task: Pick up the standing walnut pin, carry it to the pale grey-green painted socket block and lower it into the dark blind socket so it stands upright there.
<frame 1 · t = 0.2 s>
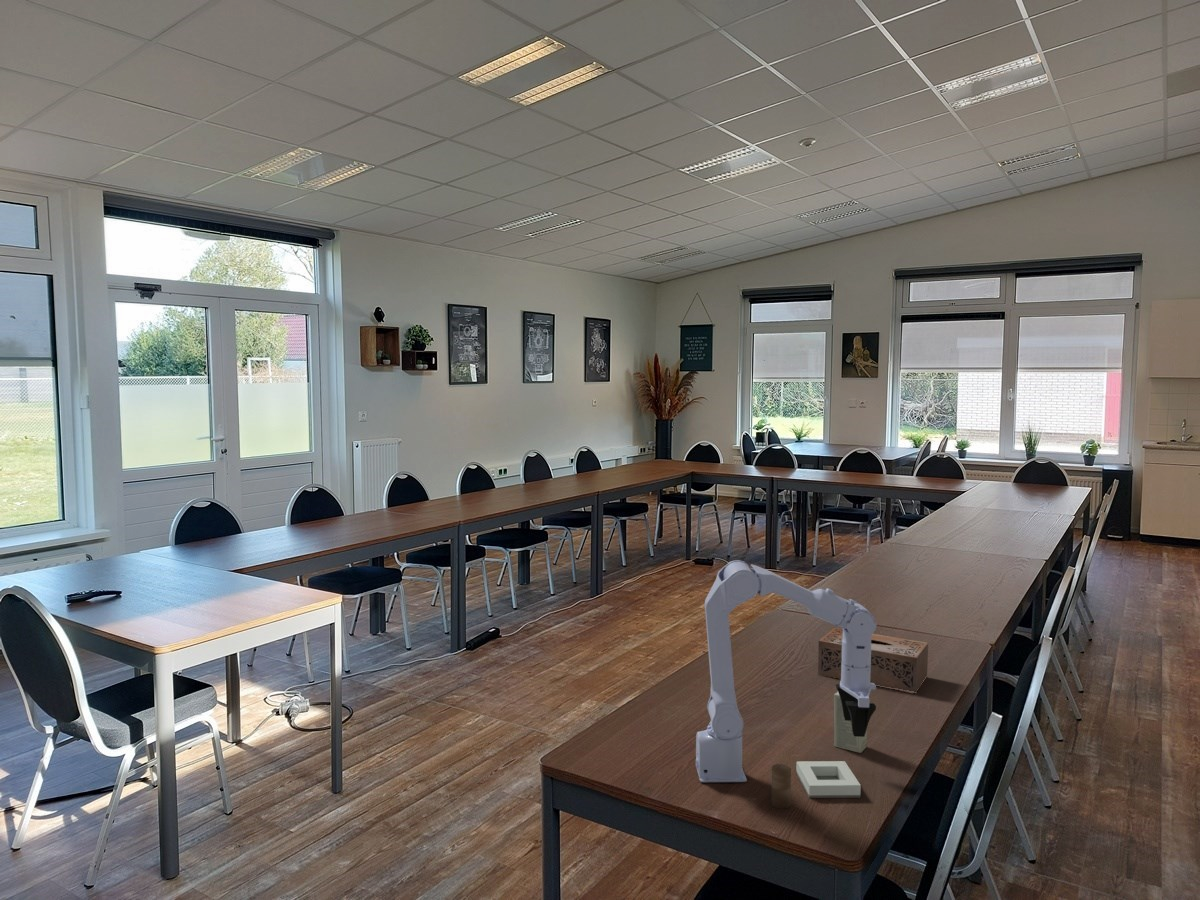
hand: (854, 727, 164), 10 cm above the table, fingers open, 7 cm apart
pin: (780, 803, 154), on the table
skincare box: (849, 747, 178), on the table
tissue box cover: (872, 677, 221), on the table
socket block: (827, 784, 161), on the table
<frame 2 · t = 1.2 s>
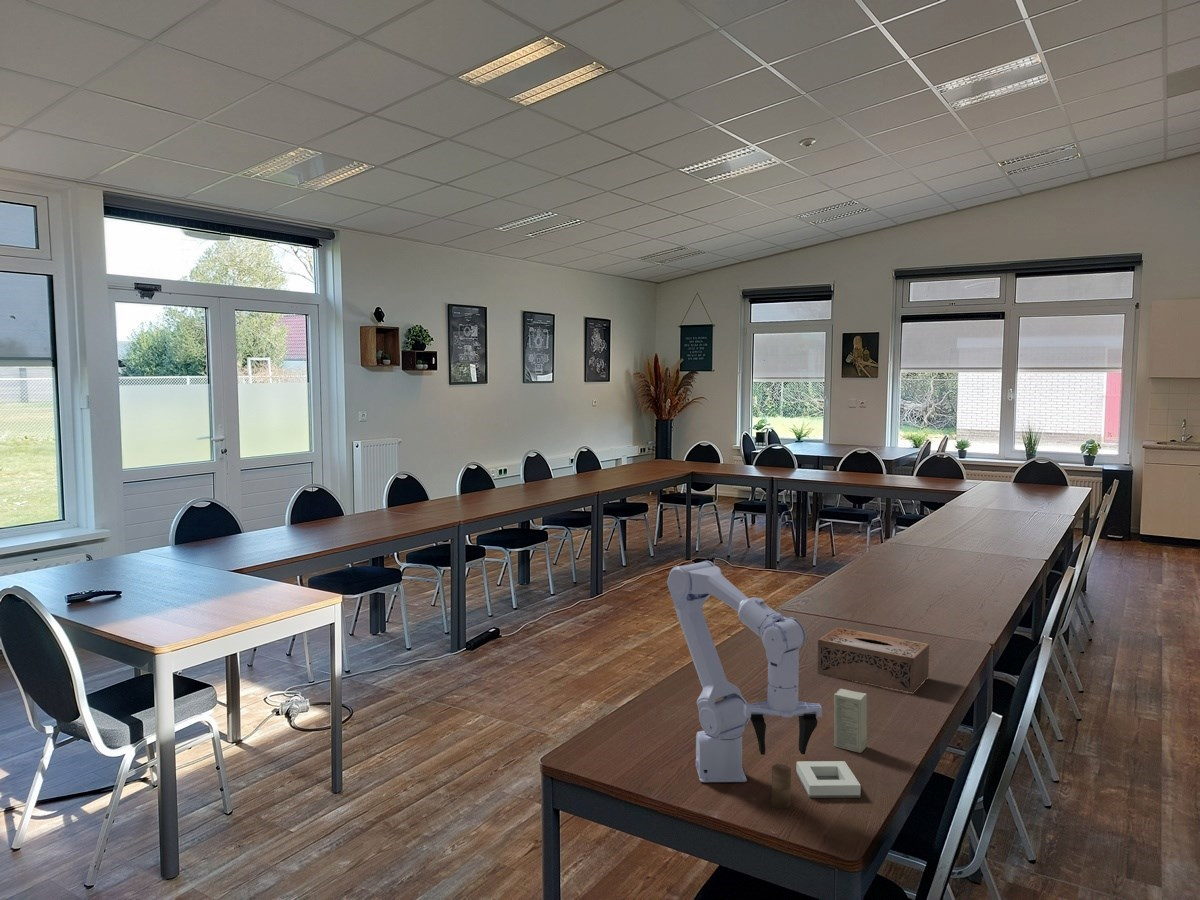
hand: (782, 752, 153), 10 cm above the table, fingers open, 7 cm apart
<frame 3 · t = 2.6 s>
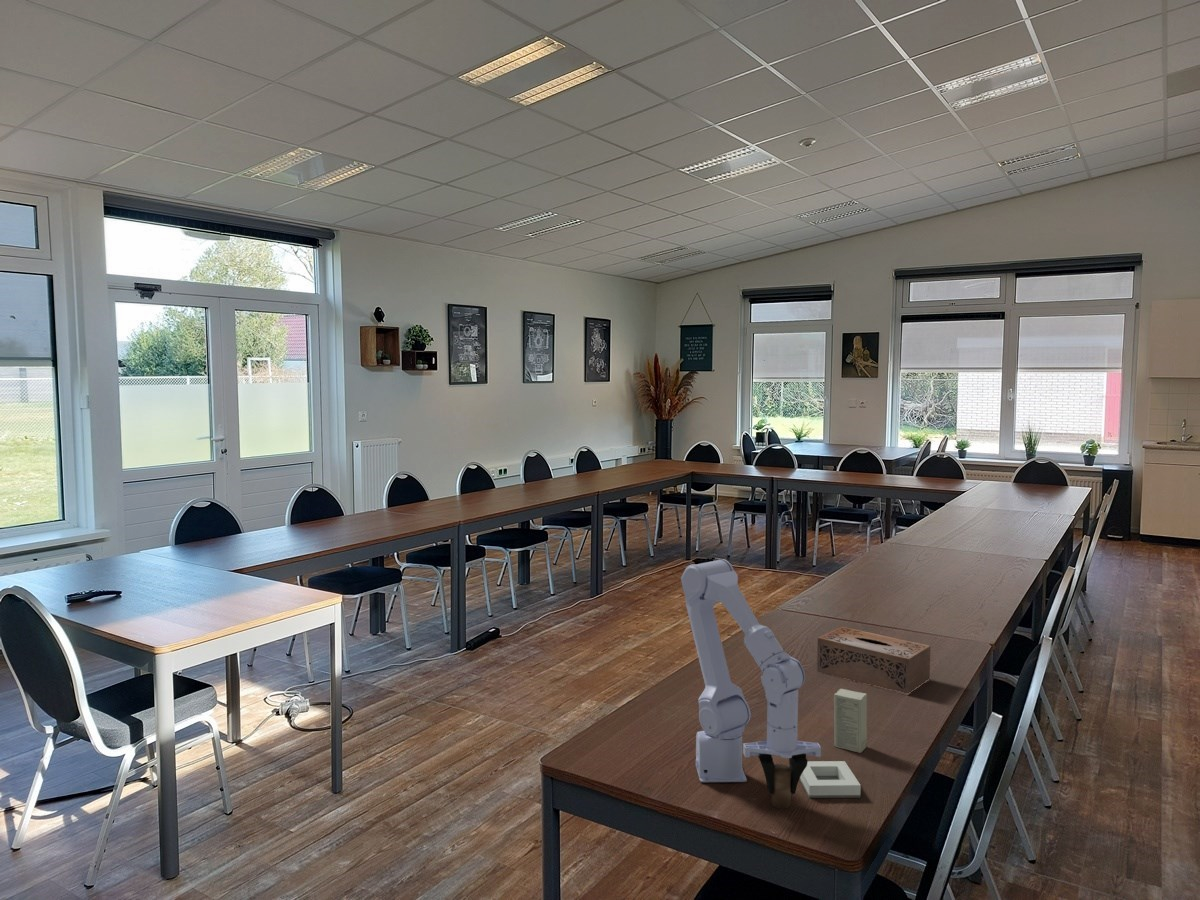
hand: (781, 791, 154), 2 cm above the table, fingers closed on pin, 4 cm apart
pin: (781, 803, 154), on the table, touching gripper
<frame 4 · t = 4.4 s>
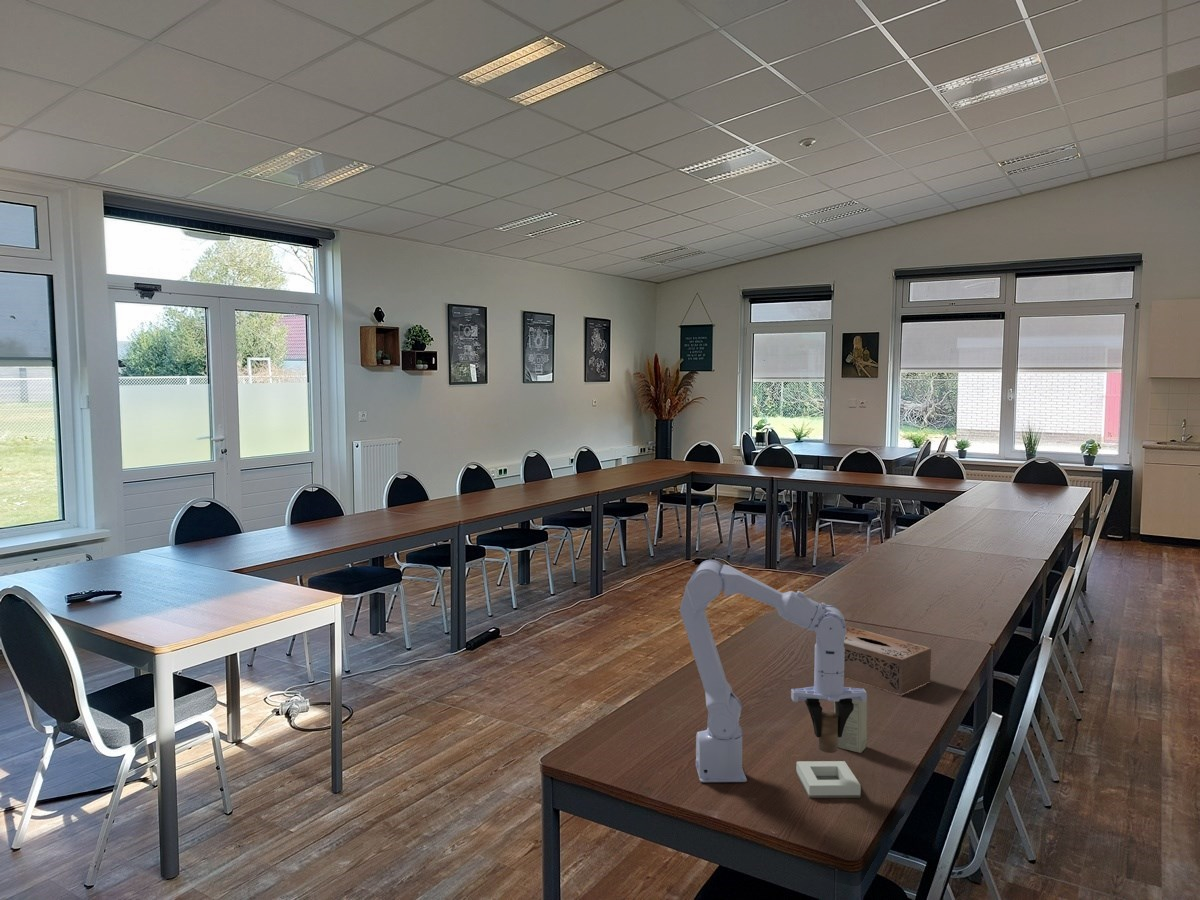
hand: (827, 735, 160), 10 cm above the table, fingers closed on pin, 4 cm apart
pin: (828, 748, 160), point 8 cm above the table, touching gripper
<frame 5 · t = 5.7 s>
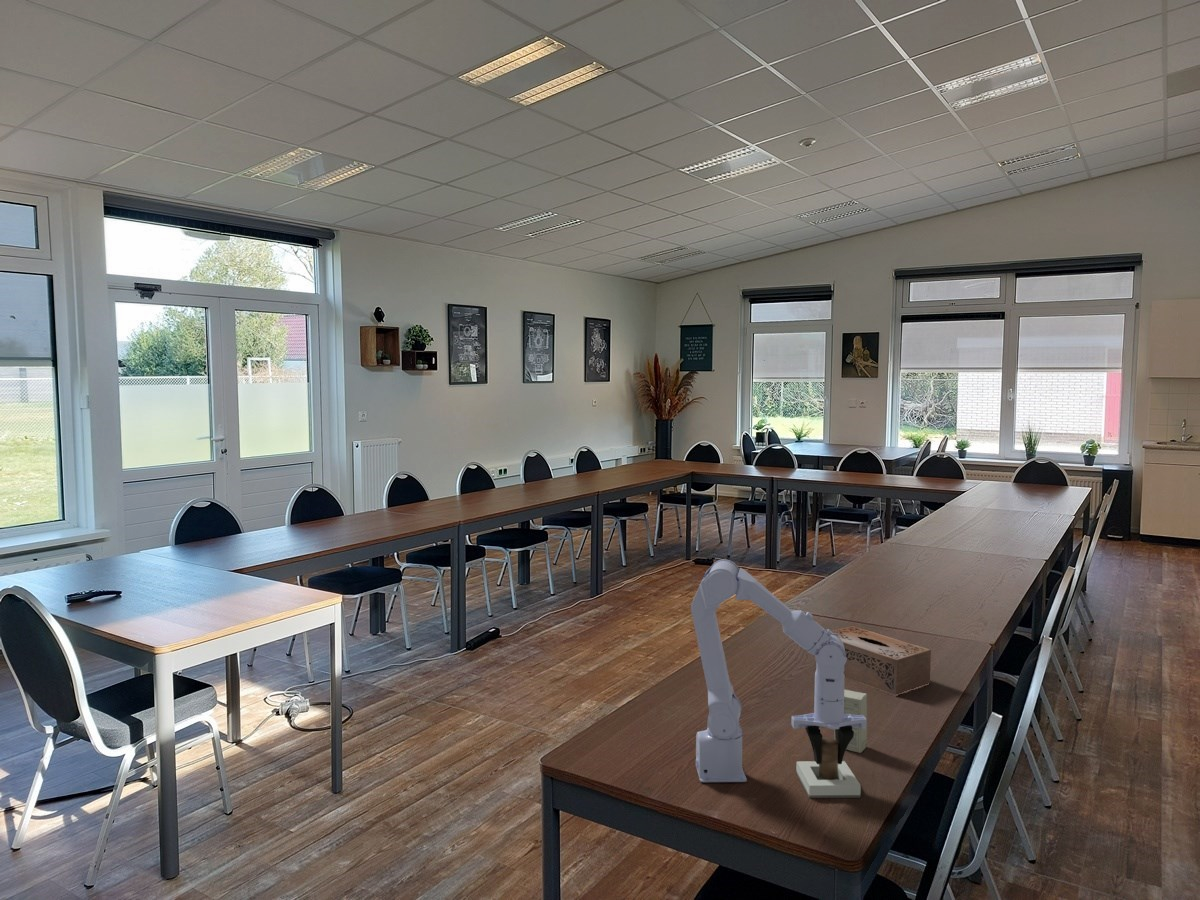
hand: (827, 761, 161), 5 cm above the table, fingers closed on pin, 4 cm apart
pin: (828, 775, 161), point 2 cm above the table, touching gripper
when the fingers open (4 cm above the table, at t = 6.4 s): pin stays where it is, resting on socket block.
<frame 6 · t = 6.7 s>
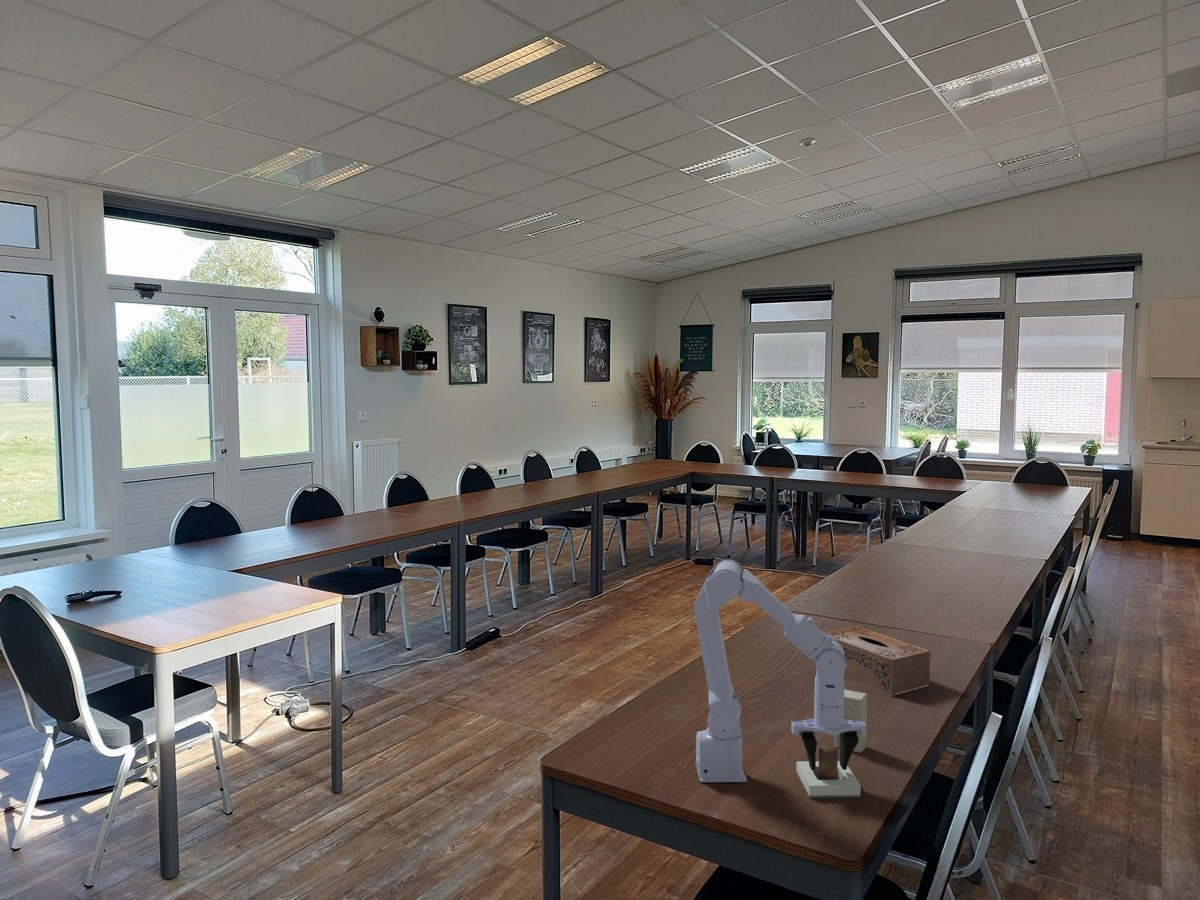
hand: (827, 767, 161), 4 cm above the table, fingers open, 6 cm apart
pin: (827, 783, 161), point 1 cm above the table, touching socket block
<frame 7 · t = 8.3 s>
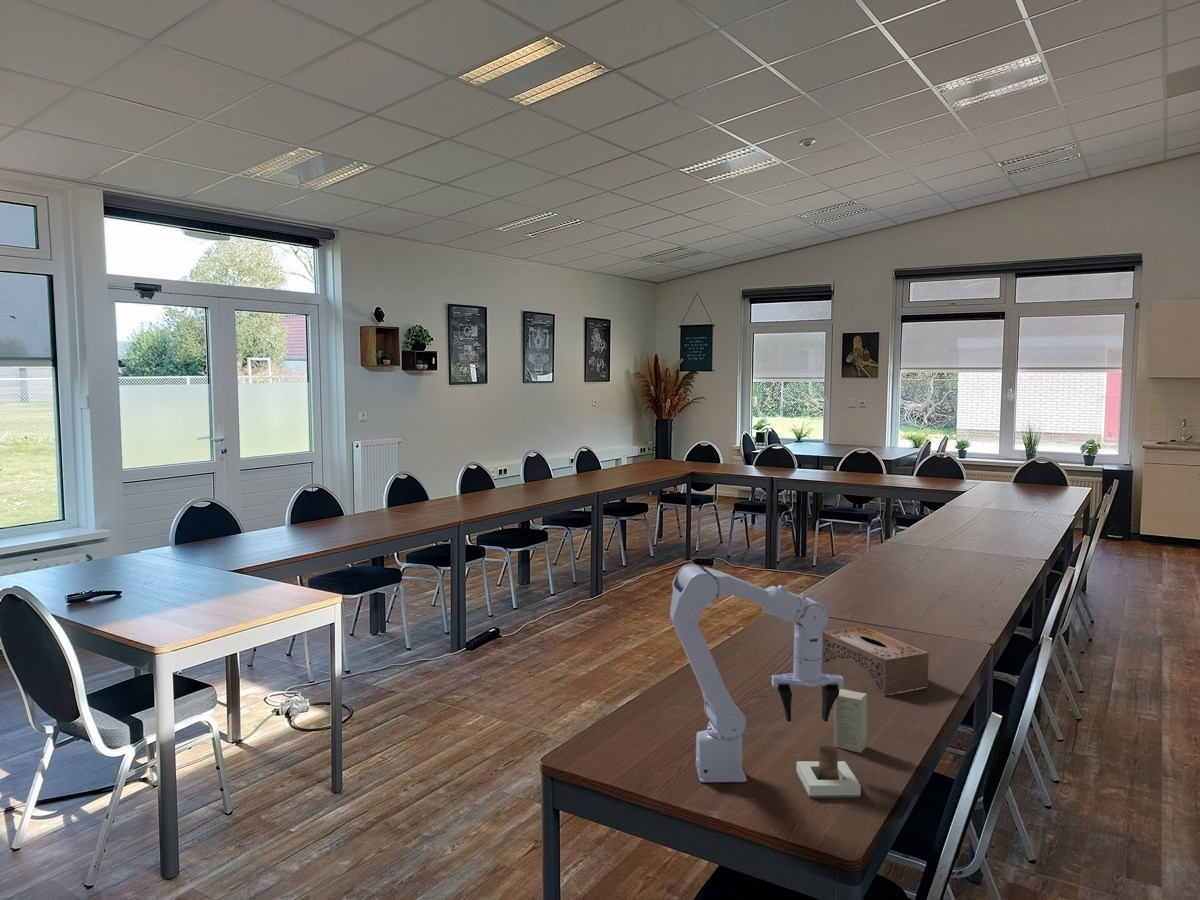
hand: (806, 719, 168), 10 cm above the table, fingers open, 7 cm apart
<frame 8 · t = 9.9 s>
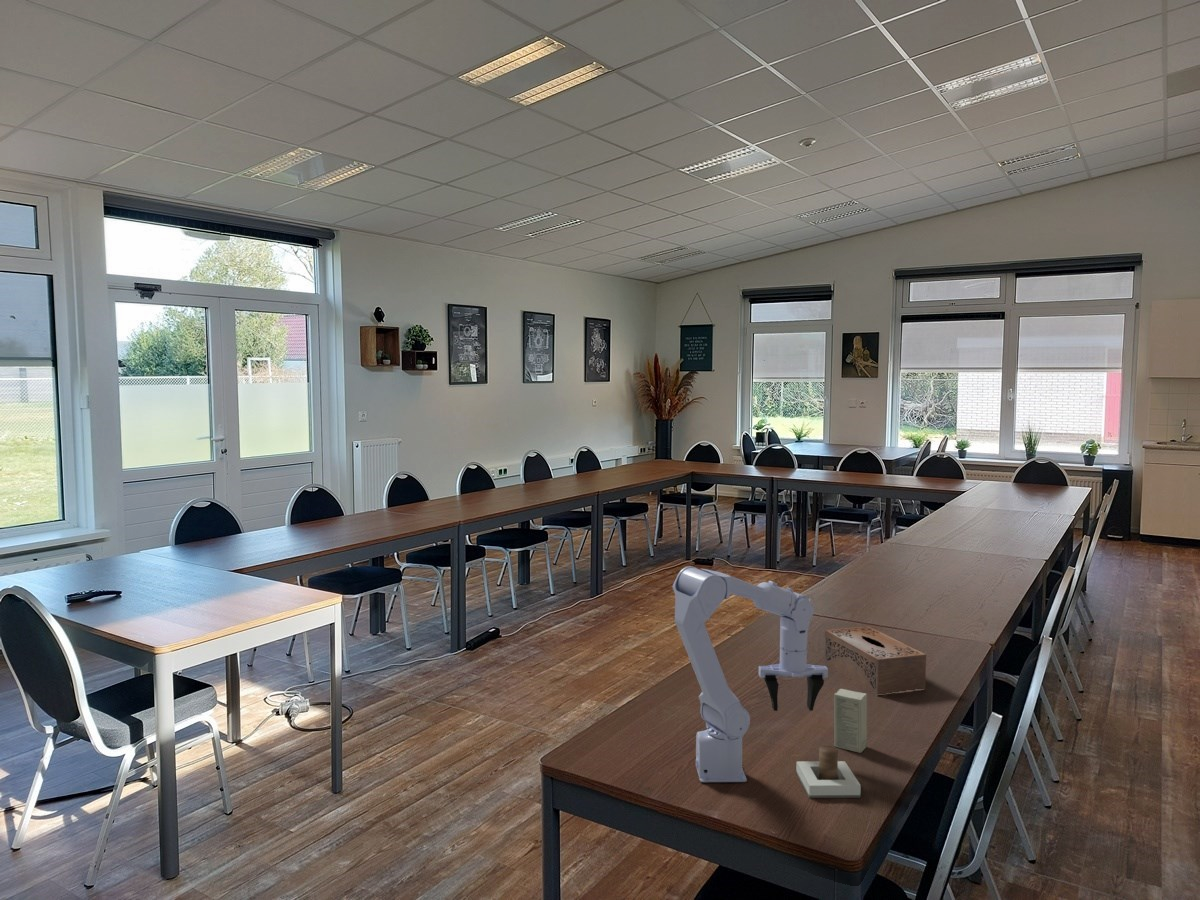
hand: (792, 708, 173), 10 cm above the table, fingers open, 7 cm apart
at the end: pin 0.3 cm off-centre on the socket block, point 0.5 cm above the socket block's base; pin tilted 0°; the gripper is holding nothing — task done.
